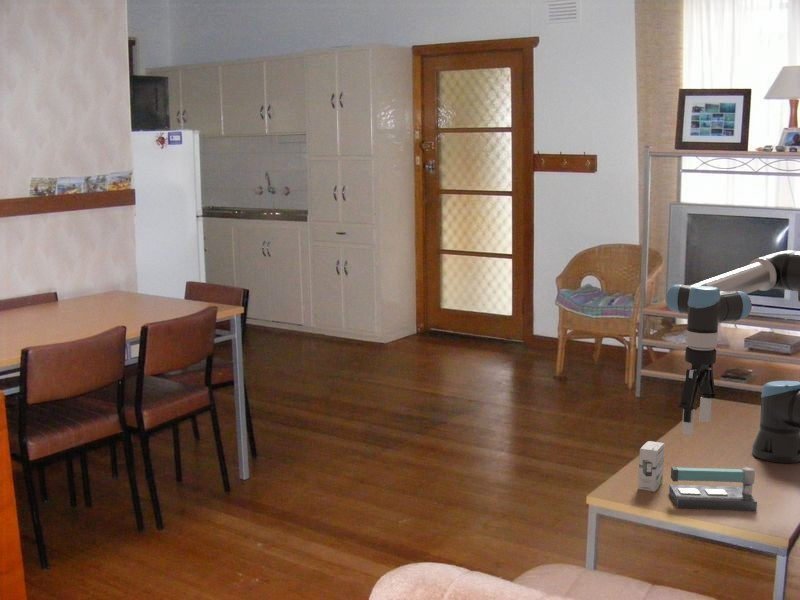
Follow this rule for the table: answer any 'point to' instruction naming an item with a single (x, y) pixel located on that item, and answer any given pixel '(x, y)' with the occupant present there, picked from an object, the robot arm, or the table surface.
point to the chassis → (713, 497)
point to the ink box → (651, 466)
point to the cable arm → (713, 474)
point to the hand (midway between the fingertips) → (696, 428)
